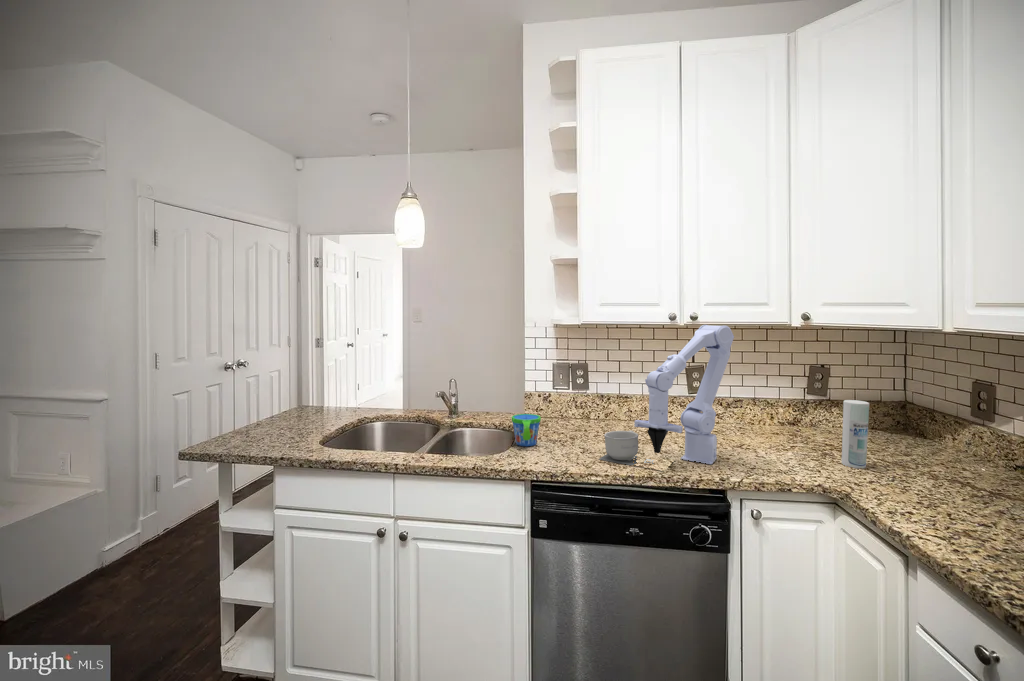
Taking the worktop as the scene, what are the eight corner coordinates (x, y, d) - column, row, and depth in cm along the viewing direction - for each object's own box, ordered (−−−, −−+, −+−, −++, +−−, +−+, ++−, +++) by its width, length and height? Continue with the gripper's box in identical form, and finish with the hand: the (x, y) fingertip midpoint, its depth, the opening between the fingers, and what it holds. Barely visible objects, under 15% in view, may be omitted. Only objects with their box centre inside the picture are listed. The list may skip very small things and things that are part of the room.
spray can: (856, 462, 150) (859, 399, 149) (871, 468, 144) (874, 403, 143) (836, 462, 150) (838, 399, 149) (850, 468, 144) (853, 403, 143)
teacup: (624, 465, 146) (624, 439, 146) (597, 457, 155) (597, 433, 154) (650, 456, 155) (650, 432, 155) (623, 449, 164) (623, 426, 163)
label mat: (676, 460, 152) (676, 459, 152) (663, 471, 141) (663, 470, 141) (614, 449, 164) (614, 449, 164) (598, 459, 153) (598, 458, 153)
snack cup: (514, 438, 179) (514, 411, 179) (541, 439, 178) (541, 412, 177) (509, 450, 164) (509, 421, 163) (539, 451, 163) (539, 421, 162)
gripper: (631, 408, 149) (630, 451, 149) (678, 414, 140) (677, 459, 141) (639, 405, 154) (638, 446, 155) (684, 410, 146) (683, 453, 147)
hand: (657, 452), depth 149 cm, fingers closed
